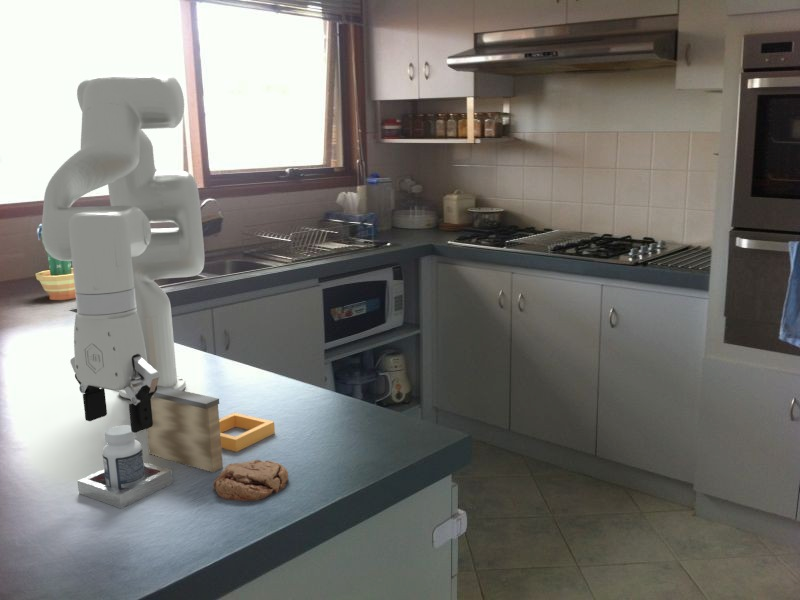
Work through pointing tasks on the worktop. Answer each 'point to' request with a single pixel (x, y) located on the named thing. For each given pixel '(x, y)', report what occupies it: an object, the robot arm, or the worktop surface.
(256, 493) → the cookie
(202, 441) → the beige brown upright block
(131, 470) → the pill bottle
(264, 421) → the collar
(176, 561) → the worktop surface
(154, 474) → the collar
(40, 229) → the potted cactus
